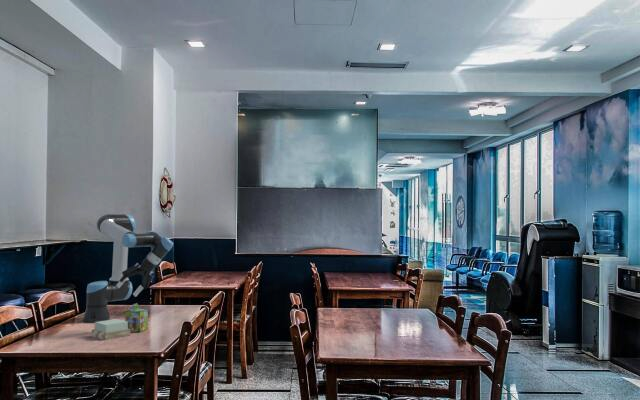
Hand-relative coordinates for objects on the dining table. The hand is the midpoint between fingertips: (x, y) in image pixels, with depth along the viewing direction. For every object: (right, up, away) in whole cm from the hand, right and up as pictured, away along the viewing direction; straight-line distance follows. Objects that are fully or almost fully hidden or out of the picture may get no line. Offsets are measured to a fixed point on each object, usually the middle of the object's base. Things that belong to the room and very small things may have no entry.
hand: (125, 291), depth 295 cm
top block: (-2, -18, -15) cm, 23 cm away
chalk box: (+7, -22, -2) cm, 23 cm away
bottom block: (-2, -22, -16) cm, 27 cm away
